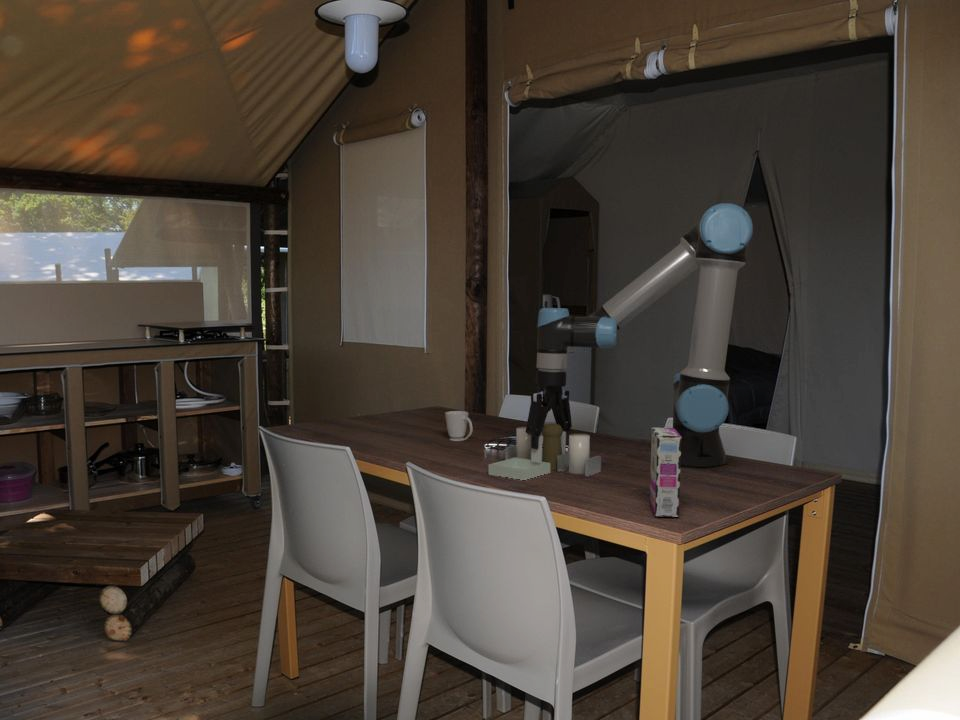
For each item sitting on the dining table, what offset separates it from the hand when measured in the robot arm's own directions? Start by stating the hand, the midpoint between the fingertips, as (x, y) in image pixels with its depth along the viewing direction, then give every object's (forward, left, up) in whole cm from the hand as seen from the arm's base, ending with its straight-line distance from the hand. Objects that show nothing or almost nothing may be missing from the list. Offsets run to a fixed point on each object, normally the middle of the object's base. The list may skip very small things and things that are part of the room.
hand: (548, 459), depth 212 cm
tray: (+2, +10, -2) cm, 10 cm away
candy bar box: (-41, +19, -3) cm, 45 cm away
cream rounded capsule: (+8, -1, -2) cm, 8 cm away
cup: (+42, -15, -2) cm, 45 cm away
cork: (0, -1, -2) cm, 3 cm away
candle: (+17, -23, -3) cm, 29 cm away
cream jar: (-8, -1, -2) cm, 9 cm away
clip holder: (0, -1, -2) cm, 3 cm away
